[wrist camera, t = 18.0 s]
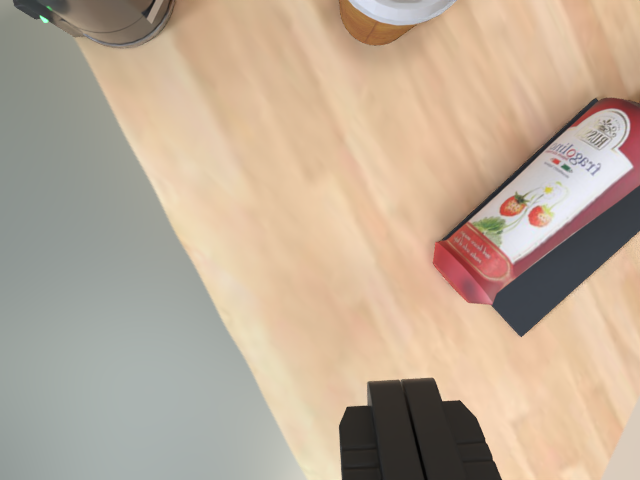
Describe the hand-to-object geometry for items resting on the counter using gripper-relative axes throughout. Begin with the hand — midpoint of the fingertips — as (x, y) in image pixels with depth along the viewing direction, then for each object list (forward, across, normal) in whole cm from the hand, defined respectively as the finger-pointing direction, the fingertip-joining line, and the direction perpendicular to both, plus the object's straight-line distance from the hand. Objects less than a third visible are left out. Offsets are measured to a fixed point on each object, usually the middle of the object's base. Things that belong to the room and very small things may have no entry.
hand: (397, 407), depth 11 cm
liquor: (+26, -9, +13) cm, 30 cm away
